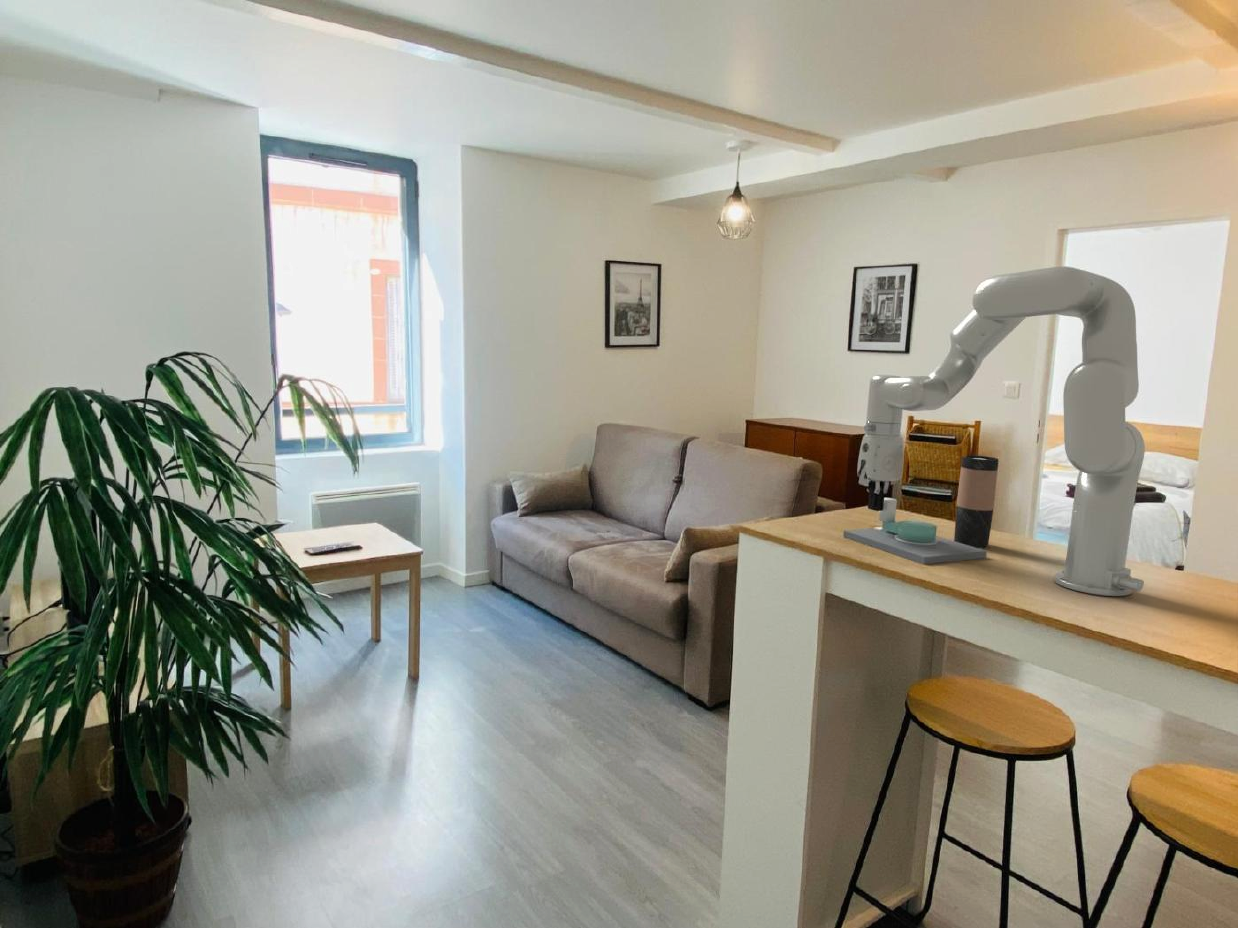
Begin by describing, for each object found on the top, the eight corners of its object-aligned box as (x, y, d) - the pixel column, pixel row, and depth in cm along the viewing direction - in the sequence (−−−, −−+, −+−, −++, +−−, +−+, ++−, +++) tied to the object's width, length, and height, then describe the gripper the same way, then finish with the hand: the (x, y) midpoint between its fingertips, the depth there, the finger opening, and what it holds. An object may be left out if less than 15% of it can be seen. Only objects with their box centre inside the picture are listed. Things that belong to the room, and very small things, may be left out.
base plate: (986, 557, 166) (986, 549, 166) (923, 564, 158) (924, 556, 158) (901, 532, 187) (902, 525, 187) (843, 536, 180) (843, 529, 179)
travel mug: (995, 549, 174) (1005, 460, 171) (960, 547, 174) (970, 459, 171) (980, 540, 181) (989, 456, 179) (947, 539, 182) (956, 454, 179)
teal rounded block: (943, 540, 171) (946, 509, 170) (917, 543, 168) (920, 511, 167) (892, 525, 184) (895, 496, 183) (867, 528, 181) (869, 498, 180)
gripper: (870, 432, 169) (862, 515, 172) (919, 431, 176) (911, 511, 179) (846, 428, 176) (839, 508, 178) (894, 428, 182) (886, 504, 185)
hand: (875, 509), depth 178 cm, fingers closed
